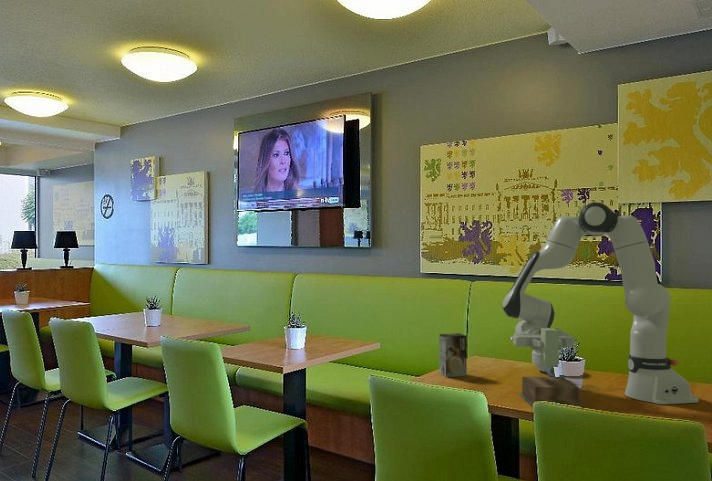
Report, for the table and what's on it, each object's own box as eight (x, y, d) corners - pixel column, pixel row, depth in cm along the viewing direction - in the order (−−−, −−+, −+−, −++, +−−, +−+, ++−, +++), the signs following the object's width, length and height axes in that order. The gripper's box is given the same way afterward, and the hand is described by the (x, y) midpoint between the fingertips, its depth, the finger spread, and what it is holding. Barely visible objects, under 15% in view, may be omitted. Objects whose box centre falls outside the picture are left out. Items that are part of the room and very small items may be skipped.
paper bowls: (565, 367, 239) (565, 349, 239) (575, 376, 224) (575, 356, 224) (528, 366, 241) (528, 348, 241) (536, 375, 226) (536, 355, 226)
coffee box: (459, 372, 229) (460, 332, 229) (466, 376, 222) (467, 335, 222) (438, 373, 226) (439, 333, 226) (445, 377, 220) (445, 336, 220)
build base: (564, 394, 196) (564, 376, 196) (583, 408, 180) (583, 388, 180) (518, 394, 196) (518, 376, 196) (533, 407, 180) (533, 387, 180)
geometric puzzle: (570, 378, 212) (564, 358, 217) (553, 378, 211) (547, 358, 216) (562, 385, 217) (556, 366, 222) (546, 386, 216) (540, 366, 221)
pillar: (553, 363, 191) (554, 328, 191) (558, 366, 186) (559, 330, 186) (540, 363, 191) (540, 328, 191) (544, 366, 186) (545, 330, 186)
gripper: (508, 328, 201) (519, 334, 188) (565, 329, 201) (580, 335, 188) (507, 345, 201) (519, 353, 188) (565, 346, 202) (580, 354, 188)
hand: (550, 344), depth 188 cm, fingers closed on pillar, 4 cm apart
